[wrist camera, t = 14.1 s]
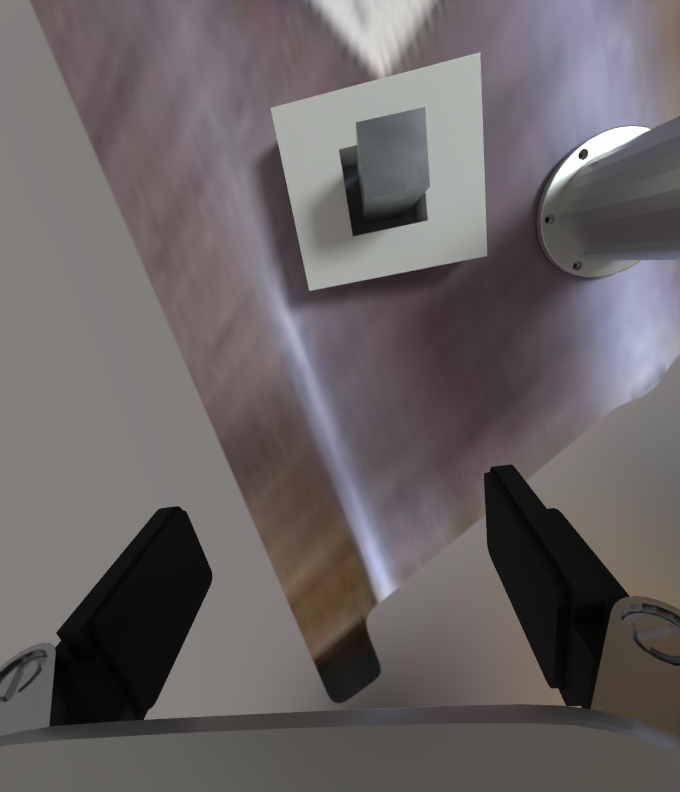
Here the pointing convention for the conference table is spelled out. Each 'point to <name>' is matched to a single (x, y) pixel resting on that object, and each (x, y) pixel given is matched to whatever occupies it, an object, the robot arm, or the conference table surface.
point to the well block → (325, 188)
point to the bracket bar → (391, 164)
